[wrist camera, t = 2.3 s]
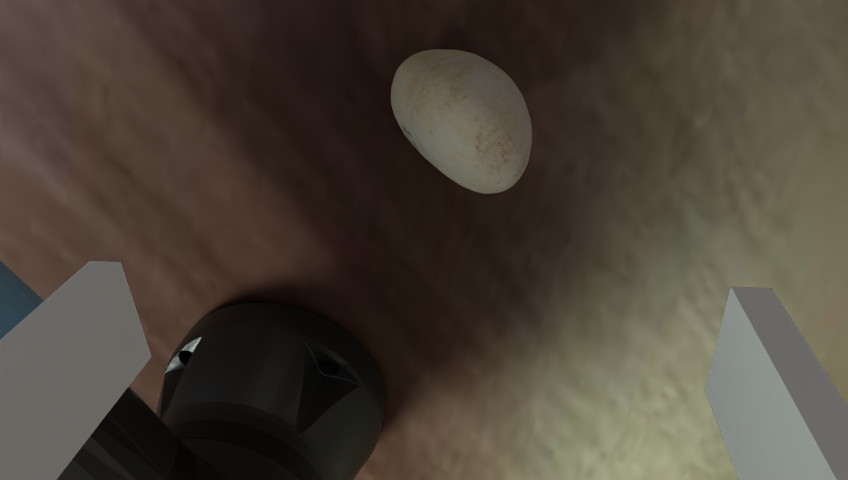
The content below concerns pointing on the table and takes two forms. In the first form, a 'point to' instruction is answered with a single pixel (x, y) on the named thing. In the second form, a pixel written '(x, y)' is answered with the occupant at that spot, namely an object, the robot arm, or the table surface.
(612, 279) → the table surface
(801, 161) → the table surface
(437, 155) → the stone
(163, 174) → the table surface
